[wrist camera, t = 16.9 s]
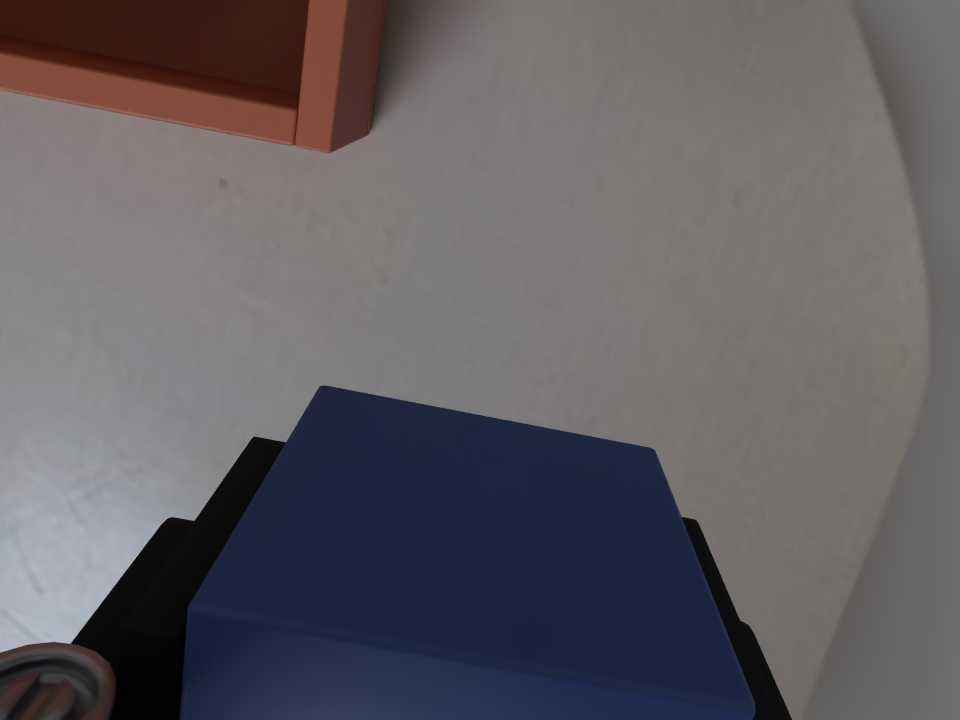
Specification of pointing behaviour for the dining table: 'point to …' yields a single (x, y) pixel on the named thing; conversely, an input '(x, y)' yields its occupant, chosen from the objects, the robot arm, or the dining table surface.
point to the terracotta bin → (204, 62)
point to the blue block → (457, 580)
